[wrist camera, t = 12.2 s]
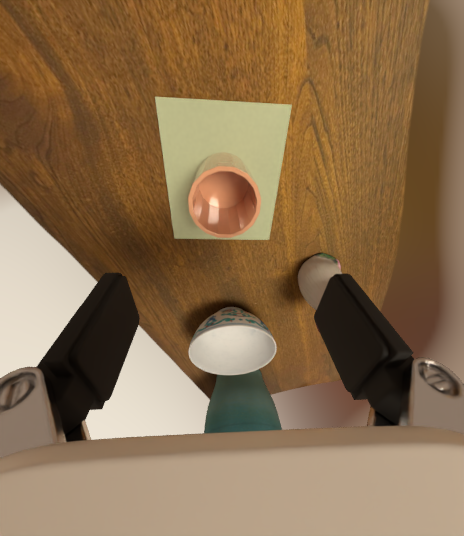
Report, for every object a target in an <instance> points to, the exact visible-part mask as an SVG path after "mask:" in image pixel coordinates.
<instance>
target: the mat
mask: <svg viewBox="0 0 464 536" xmlns="http://www.w3.org/2000/svg"><path fill="white" fill-rule="evenodd" d="M155 101H156V108H157V116H158V123H159V130H160V138H161V145H162V152H163V159H164V167H165V174H166V181H167V189H168V196H169V203H170V211H171V218H172V225H173V232H174V239H238V240H269V237H270V231H271V225H272V219H273V213H274V207H275V201H276V195H277V190H278V184H279V178H280V172H281V166H282V160H283V154H284V148H285V143H286V137H287V131H288V125H289V119H290V113H291V107H292V105H287V104H270V103H253V102H236V101H219V100H202V99H185V98H168V97H155ZM220 152H226V153H231V154H233V155H236V156H237V157H239V158H240V159H241V160H242V161H243V162H244V163H245V165H246V166H247V167H248V169H249V171H250V172H251V174H252V176H253V178H254V180H255V182H256V184H257V186H258V189H259V193H260V196H261V207H260V213H259V215H258V217H257V219H256V221H255V223H254V224H253V226H251V227H250V228H249V229H248V230H247V231H245V232H244V233H243V234H240V235H237V236H234V237H232V238H218V237H215V236H212V235H210V234H207V233H205V232H204V231H203V230H202V229H200V228H199V227H198V226H197V225H196V224H195V222H194V220H193V218H192V216H191V214H190V213H189V204H188V196H189V193H190V190H191V187H192V184H193V181H194V179H195V176H196V173H197V171H198V168H199V166H200V165H201V164H202V162H203V161H204V160H205V159H206V158H207V157H209V156H211V155H213V154H215V153H220Z"/></svg>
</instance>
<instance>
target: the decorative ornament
mask: <svg viewBox="0 0 464 536" xmlns="http://www.w3.org/2000/svg"><path fill="white" fill-rule="evenodd" d="M340 269H341V266H340V263H339V261H338V260H337V259H336V258H334V257H332V256H330V255H327V254H324V253H320V254H316V255H314V256H313V257H311V258H310V259H308V260H307V261H306V262H305V263H304V264H303V265H302V266H301V268H300V270H299V273H298V284H299V288H300V291H301V293H302V295H303V297H304V298H305V300H306V301H307V302H308V303H309V305H311V306H312V307H313V308H314V309H315V310H317V308H318V305H319V303H320V300H321V298H322V296H323V293H324V291H325V289H326V286H327V284H328V281H329V279H330V278H331V277H333V276H334V275H335V274H342V272H341V271H340ZM316 326H317V325H316ZM317 329H318V327H317ZM318 331H319V329H318Z"/></svg>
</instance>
